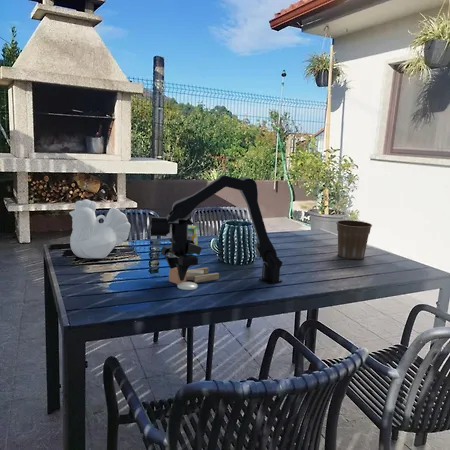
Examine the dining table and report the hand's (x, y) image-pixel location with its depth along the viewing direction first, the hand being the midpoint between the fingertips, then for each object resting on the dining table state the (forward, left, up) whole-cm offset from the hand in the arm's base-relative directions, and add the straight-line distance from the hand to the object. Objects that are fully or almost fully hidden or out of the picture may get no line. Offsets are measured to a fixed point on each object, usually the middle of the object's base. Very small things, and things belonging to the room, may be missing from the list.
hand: (178, 278), depth 155 cm
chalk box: (+39, -24, -1) cm, 46 cm away
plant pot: (-1, -91, -1) cm, 91 cm away
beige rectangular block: (0, -6, -1) cm, 6 cm away
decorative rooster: (+42, +15, -1) cm, 45 cm away
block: (0, 0, -1) cm, 1 cm away
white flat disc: (-7, 0, -1) cm, 7 cm away
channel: (0, -10, -1) cm, 10 cm away
